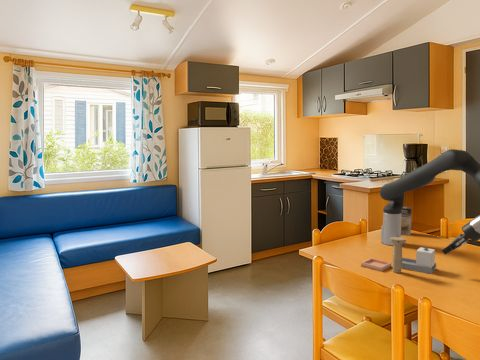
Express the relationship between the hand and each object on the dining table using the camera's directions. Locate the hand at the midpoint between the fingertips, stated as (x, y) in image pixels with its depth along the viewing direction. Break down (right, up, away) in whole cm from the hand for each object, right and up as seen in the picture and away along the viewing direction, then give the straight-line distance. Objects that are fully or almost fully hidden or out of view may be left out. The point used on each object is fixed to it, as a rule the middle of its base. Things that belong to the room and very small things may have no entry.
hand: (443, 252), depth 166 cm
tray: (-25, -8, +11) cm, 29 cm away
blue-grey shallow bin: (-8, -8, +8) cm, 14 cm away
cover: (-5, -7, +5) cm, 10 cm away
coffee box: (+11, -1, +68) cm, 69 cm away
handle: (-19, -9, +3) cm, 21 cm away
